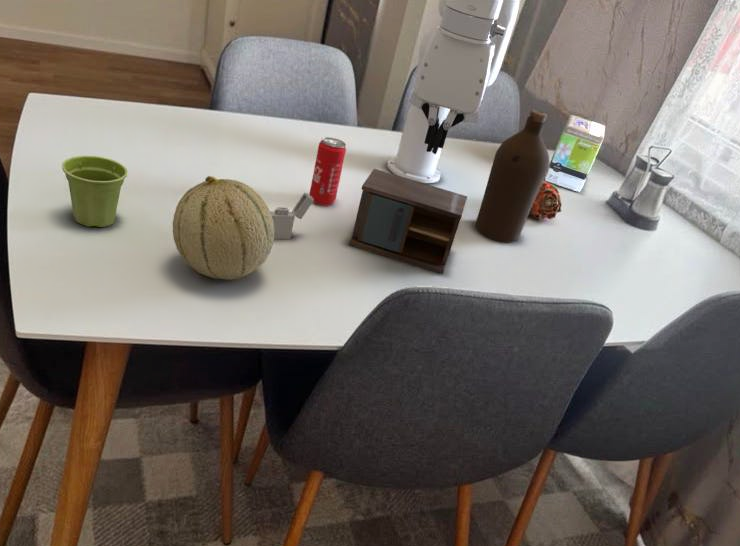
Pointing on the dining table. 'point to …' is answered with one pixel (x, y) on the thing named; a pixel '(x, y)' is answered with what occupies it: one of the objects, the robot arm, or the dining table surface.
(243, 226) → the cantaloupe
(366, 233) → the tinted door with handle
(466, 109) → the robot arm
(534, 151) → the olive oil
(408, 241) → the cabinet
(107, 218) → the plant pot
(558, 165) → the tea box
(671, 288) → the dining table surface
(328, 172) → the beverage can
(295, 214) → the lighter
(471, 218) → the dining table surface
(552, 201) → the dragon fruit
